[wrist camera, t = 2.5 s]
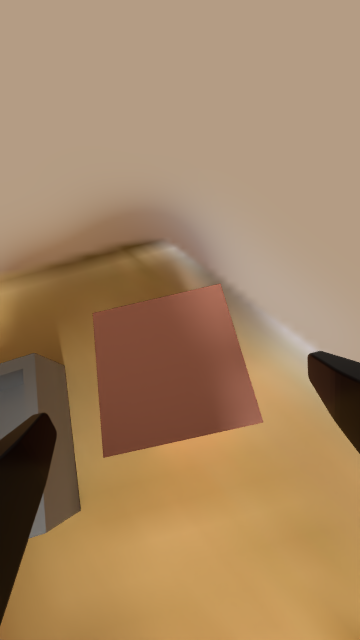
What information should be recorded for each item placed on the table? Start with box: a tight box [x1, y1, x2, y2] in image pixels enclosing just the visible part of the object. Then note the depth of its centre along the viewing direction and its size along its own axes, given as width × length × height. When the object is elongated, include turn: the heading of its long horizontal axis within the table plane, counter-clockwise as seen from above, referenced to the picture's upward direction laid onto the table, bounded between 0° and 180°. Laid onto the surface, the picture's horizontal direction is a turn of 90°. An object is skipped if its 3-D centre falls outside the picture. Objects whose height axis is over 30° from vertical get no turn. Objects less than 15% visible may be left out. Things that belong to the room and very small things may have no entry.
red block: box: [93, 284, 263, 458], centre depth 13 cm, size 5×5×9 cm
